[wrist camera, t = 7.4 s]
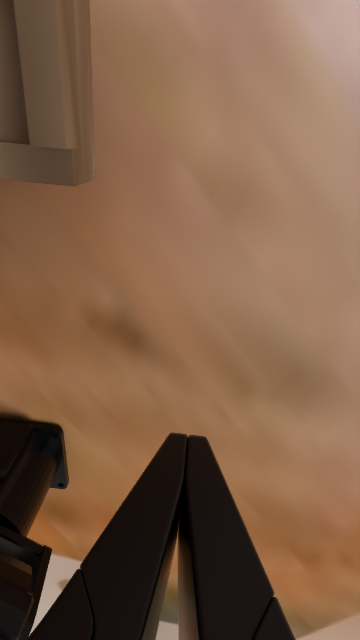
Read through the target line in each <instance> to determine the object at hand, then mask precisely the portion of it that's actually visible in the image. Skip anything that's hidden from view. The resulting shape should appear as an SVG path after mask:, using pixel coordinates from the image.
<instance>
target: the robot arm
mask: <svg viewBox="0 0 360 640" xmlns="http://www.w3.org/2000/svg"><path fill="white" fill-rule="evenodd" d="M68 483H69V478H68V469H67V460H66V451H65V442H64V433H63V430H62V429H61V428H60V427H58V426H52V425H45V424H37V423H29V422H21V421H13V420H6V419H0V640H155V639H156V634H157V630H158V625H159V621H160V616H161V611H162V606H163V602H164V597H165V592H166V588H167V583H168V578H169V574H170V569H171V564H172V560H173V555H174V550H175V545H176V540H177V533H178V616H179V640H296V639H295V637H294V635H293V633H292V631H291V629H290V626H289V624H288V622H287V620H286V617H285V615H284V613H283V611H282V608H281V606H280V604H279V601H278V599H277V598H276V597H273V596H274V591H273V588H272V586H271V584H270V581H269V579H268V577H267V575H266V572H265V570H264V568H263V565H262V563H261V561H260V559H259V556H258V554H257V552H256V549H255V547H254V545H253V542H252V540H251V538H250V536H249V533H248V531H247V529H246V526H245V524H244V522H243V520H242V517H241V515H240V513H239V510H238V508H237V506H236V504H235V501H234V499H233V497H232V494H231V492H230V490H229V488H228V485H227V483H226V481H225V478H224V476H223V474H222V472H221V469H220V467H219V465H218V462H217V460H216V458H215V456H214V453H213V451H212V449H211V446H210V444H209V442H208V440H207V438H206V437H204V436H197V435H189V437H188V436H187V435H186V434H181V433H170V434H169V435H168V437H167V438H166V440H165V441H164V442H163V444H162V445H161V447H160V448H159V450H158V451H157V453H156V454H155V456H154V457H153V459H152V460H151V462H150V463H149V465H148V466H147V468H146V469H145V471H144V472H143V473H142V475H141V476H140V478H139V479H138V481H137V482H136V484H135V485H134V487H133V488H132V490H131V491H130V493H129V494H128V496H127V497H126V499H125V500H124V501H123V503H122V504H121V506H120V507H119V509H118V510H117V512H116V513H115V515H114V516H113V518H112V519H111V521H110V522H109V524H108V525H107V527H106V528H105V530H104V531H103V532H102V534H101V535H100V537H99V538H98V540H97V541H96V543H95V544H94V546H93V547H92V549H91V550H90V552H89V553H88V555H87V556H86V558H85V559H84V560H83V562H82V563H81V565H80V569H81V570H80V569H78V570H76V572H75V573H74V575H73V576H72V578H71V579H70V581H69V582H68V584H67V585H66V587H65V588H64V590H63V591H62V592H61V594H60V595H59V597H58V598H57V600H56V601H55V602H54V604H53V605H52V606H51V608H50V609H49V611H48V612H47V613H46V615H45V616H44V618H43V619H42V620H41V622H40V623H39V624H38V626H37V627H36V628H35V630H34V631H33V632H32V633H31V635H30V636H29V634H30V631H31V629H32V626H33V623H34V619H35V616H36V613H37V609H38V605H39V601H40V597H41V592H42V589H43V585H44V580H45V577H46V572H47V568H48V564H49V560H50V556H51V552H52V548H50V547H48V546H46V545H44V546H42V545H40V544H38V543H36V542H35V541H33V540H31V539H29V538H27V535H28V533H29V530H30V528H31V526H32V524H33V522H34V520H35V518H36V515H37V513H38V511H39V509H40V507H41V505H42V503H43V501H44V498H45V496H46V494H47V492H48V490H49V488H58V489H65V488H66V487H67V485H68ZM179 517H180V518H179ZM178 525H179V529H178ZM28 636H29V637H28Z"/></svg>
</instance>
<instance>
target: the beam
mask: <svg viewBox="0 0 360 640" xmlns="http://www.w3.org/2000/svg"><path fill="white" fill-rule="evenodd" d="M0 179H5V180H15V181H25V182H35V183H45V184H56V185H66V186H76V185H79V184H82V183H84V182H87V181H90V180H93V179H95V155H94V126H93V97H92V68H91V39H90V10H89V0H0Z"/></svg>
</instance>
